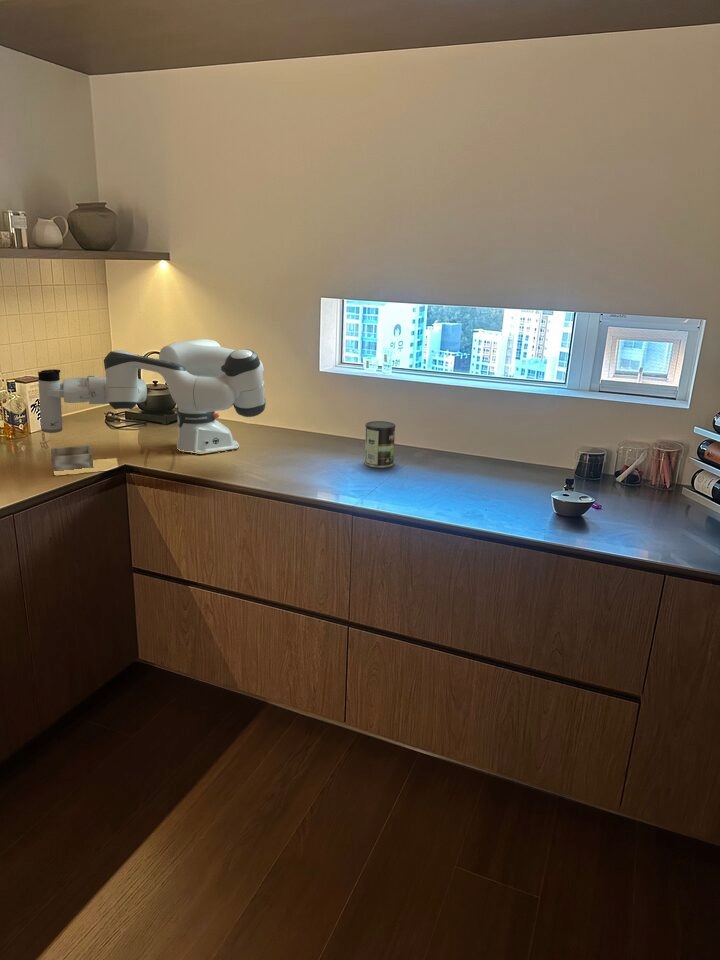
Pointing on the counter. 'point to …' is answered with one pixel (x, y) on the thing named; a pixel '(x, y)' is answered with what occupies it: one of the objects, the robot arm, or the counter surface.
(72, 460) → the mug caddy
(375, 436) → the coffee can
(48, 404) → the travel mug
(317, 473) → the counter surface
